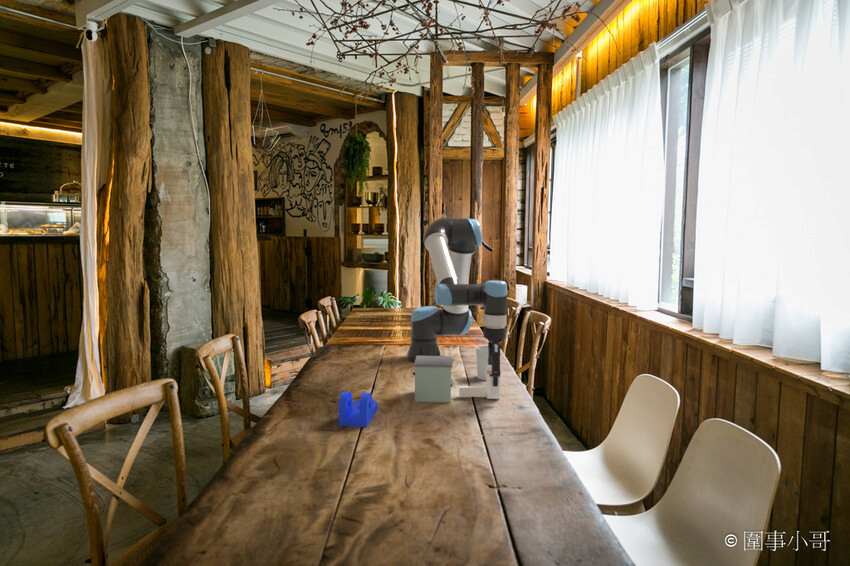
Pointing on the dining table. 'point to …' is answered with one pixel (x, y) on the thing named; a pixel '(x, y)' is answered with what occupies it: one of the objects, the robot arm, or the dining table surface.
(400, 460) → the dining table surface
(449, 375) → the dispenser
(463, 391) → the pink striped cream block
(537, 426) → the dining table surface
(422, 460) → the dining table surface
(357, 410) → the bracket
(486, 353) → the cup
